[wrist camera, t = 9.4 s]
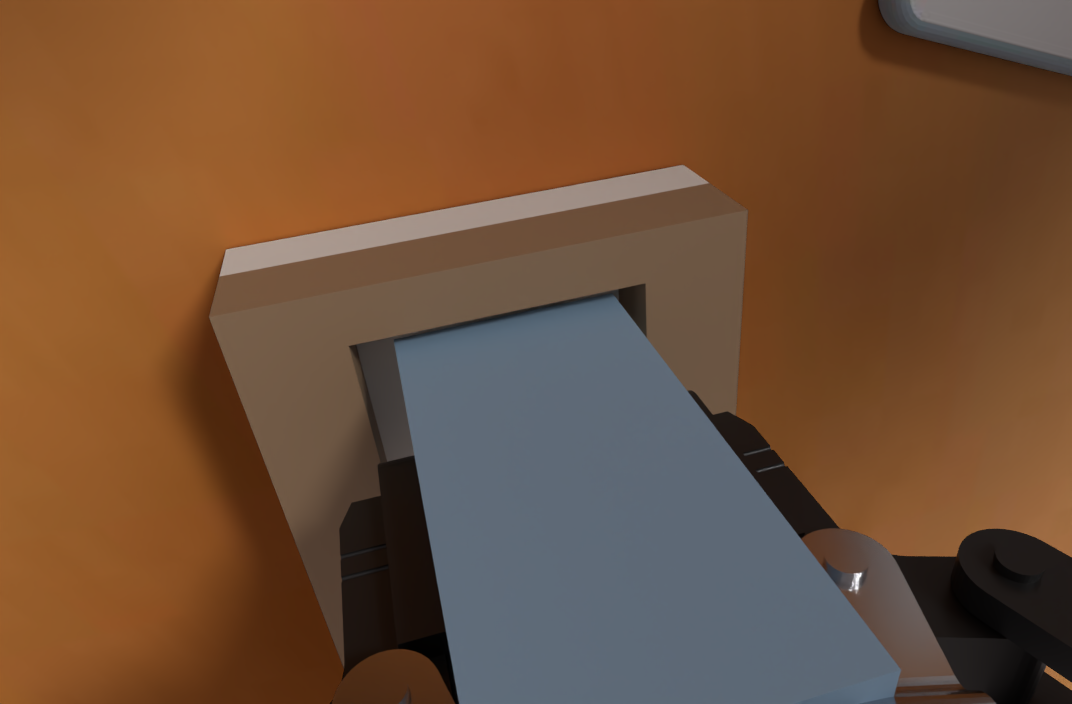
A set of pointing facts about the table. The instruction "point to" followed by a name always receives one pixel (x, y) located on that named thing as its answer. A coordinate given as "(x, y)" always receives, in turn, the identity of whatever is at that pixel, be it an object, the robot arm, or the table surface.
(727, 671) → the block
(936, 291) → the table surface
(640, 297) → the keyhole board
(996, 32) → the smartphone
